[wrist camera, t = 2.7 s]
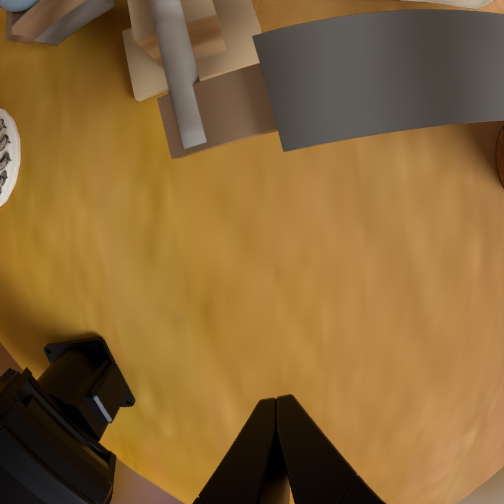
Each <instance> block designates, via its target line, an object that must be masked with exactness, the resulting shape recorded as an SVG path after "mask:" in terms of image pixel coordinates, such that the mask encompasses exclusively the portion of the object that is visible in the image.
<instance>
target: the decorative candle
mask: <svg viewBox="0 0 504 504" xmlns="http://www.w3.org/2000/svg"><path fill="white" fill-rule="evenodd" d="M20 163H21V153H20V136H19V133H18V130H17V126H16V123H15V120H14V119H13V118H12V117H11V116H10V114H9V113H8V112H7V111H6V110H4V109H0V207H1V206H2V205H3V204H4V203H5V202H6V201H7V200H8V198H9V196H10V194H11V192H12V190H13V188H14V186H15V184H16V181H17V176H18V172H19V167H20Z"/></svg>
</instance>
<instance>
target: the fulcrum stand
mask: <svg viewBox="0 0 504 504" xmlns="http://www.w3.org/2000/svg"><path fill="white" fill-rule="evenodd" d="M127 1H128V7H129V13H130V19H131V24H132V27H131V28H129V29H126V30H124V31H122V35H123V41H124V47H125V52H126V57H127V63H128V68H129V73H130V78H131V83H132V88H133V92H134V97H135V100H137V101H139V102H140V101H143V100H145V99H148V98H151V97H154V96H157V95H159V94H162V93H165V92H168V91H169V90H168V85H167V81H166V77H165V72H164V68H163V64H162V59H161V55H160V50H159V46H158V41H157V36H156V32H155V27H154V22H153V18H152V13H151V8H150V3H149V0H127ZM180 2H181V6H182V10H183V14H184V18H185V22H186V26H187V30H188V34H189V38H190V42H191V46H192V50H193V54H194V58H195V62H196V66H197V70H198V74H199V78H200V81H203V80H206V79H209V78H212V77H215V76H218V75H221V74H224V73H227V72H231V71H234V70H237V69H240V68H244V67H247V66H251V65H254V64H258V63H260V62H259V59H258V55H257V52H256V49H255V45H254V42H253V39H252V36H253V35H257V34H261V33H262V31H261V28H260V25H259V22H258V18H257V15H256V12H255V9H254V6H253V3H252V0H213V1H212V0H180Z"/></svg>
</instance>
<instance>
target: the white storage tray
mask: <svg viewBox="0 0 504 504" xmlns="http://www.w3.org/2000/svg"><path fill="white" fill-rule="evenodd" d="M402 1H417V2H429V3H438V4H446V5H454V6H460V7H466V8H472V9H479V8H481V7H483V6H484V5H486V4H488V3H490V2H492V1H493V0H402Z"/></svg>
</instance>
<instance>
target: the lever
mask: <svg viewBox="0 0 504 504" xmlns="http://www.w3.org/2000/svg"><path fill="white" fill-rule="evenodd" d="M149 3H150V8H151V13H152V18H153V22H154V27H155V32H156V36H157V41H158V46H159V50H160V55H161V59H162V64H163V68H164V72H165V77H166V81H167V85H168V90H169V94H167V95H164V96H162V97H159V98H157V100H158V104H159V108H160V113H161V117H162V121H163V125H164V129H165V133H166V137H167V141H168V145H169V149H170V153H171V157H172V159H175V158H182V157H185V156H189V155H192V154H195V153H198V152H201V151H205V150H208V149H212V148H215V147H218V146H222V145H225V144H229V143H233V142H236V141H240V140H244V139H247V138H251V137H255V136H259V135H263V134H267V133H271V132H275V131H278V132H279V136H280V140H281V144H282V148H283V152H287V151H292V150H296V149H301V148H306V147H311V146H315V145H320V144H325V143H331V142H336V141H341V140H347V139H352V138H358V137H364V136H370V135H376V134H382V133H389V132H396V131H403V130H410V129H417V128H425V127H434V126H443V125H452V124H463V123H475V122H488V121H504V14H499V13H490V12H479V11H465V10H399V11H385V12H374V13H364V14H356V15H348V16H341V17H335V18H329V19H323V20H317V21H312V22H307V23H302V24H297V25H293V26H288V27H284V28H280V29H276V30H272V31H268V32H264V33H261V34H257V35H253V36H252V39H253V42H254V45H255V49H256V52H257V55H258V59H259V62H260V63H258V64H254V65H251V66H247V67H244V68H240V69H237V70H234V71H231V72H227V73H224V74H221V75H218V76H215V77H212V78H209V79H206V80H204V81H201V82H200V78H199V74H198V70H197V66H196V62H195V58H194V54H193V50H192V46H191V42H190V38H189V34H188V30H187V26H186V22H185V18H184V14H183V10H182V6H181V2H180V0H149ZM113 7H115V2H114V0H40V1H39V2H38V3H37V4H35V5H34V6H33V7H31V8H29V9H26V10H23V11H19V12H10V11H7V19H6V40H9V41H16V42H22V43H28V44H30V43H31V42H32V41H36V42H42V43H46V44H51V45H56V46H57V45H58V44H59V43H61V42H62V41H63V40H65V39H66V38H67V37H69V36H70V35H72V34H73V33H74V32H76V31H77V30H79V29H80V28H82V27H83V26H85V25H86V24H88V23H89V22H91V21H92V20H94V19H95V18H97V17H98V16H100V15H102V14H103V13H105V12H107V11H108V10H110V9H112V8H113Z"/></svg>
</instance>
